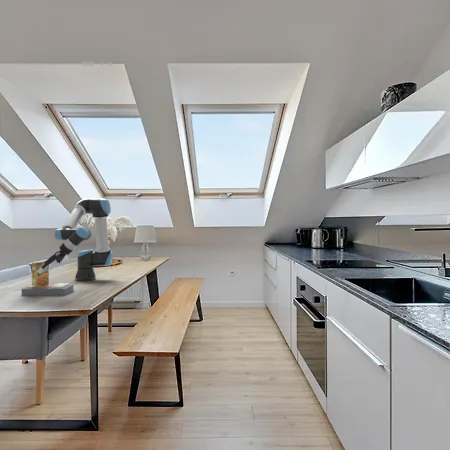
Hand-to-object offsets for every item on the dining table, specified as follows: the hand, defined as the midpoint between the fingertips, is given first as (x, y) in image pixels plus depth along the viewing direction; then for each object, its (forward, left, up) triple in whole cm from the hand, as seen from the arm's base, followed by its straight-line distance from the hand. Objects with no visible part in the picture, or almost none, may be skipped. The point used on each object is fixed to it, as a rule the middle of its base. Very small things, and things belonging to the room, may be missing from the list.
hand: (44, 270), depth 221 cm
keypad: (-1, +2, -15) cm, 15 cm away
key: (-1, -3, -13) cm, 13 cm away
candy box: (-1, -3, -10) cm, 11 cm away
